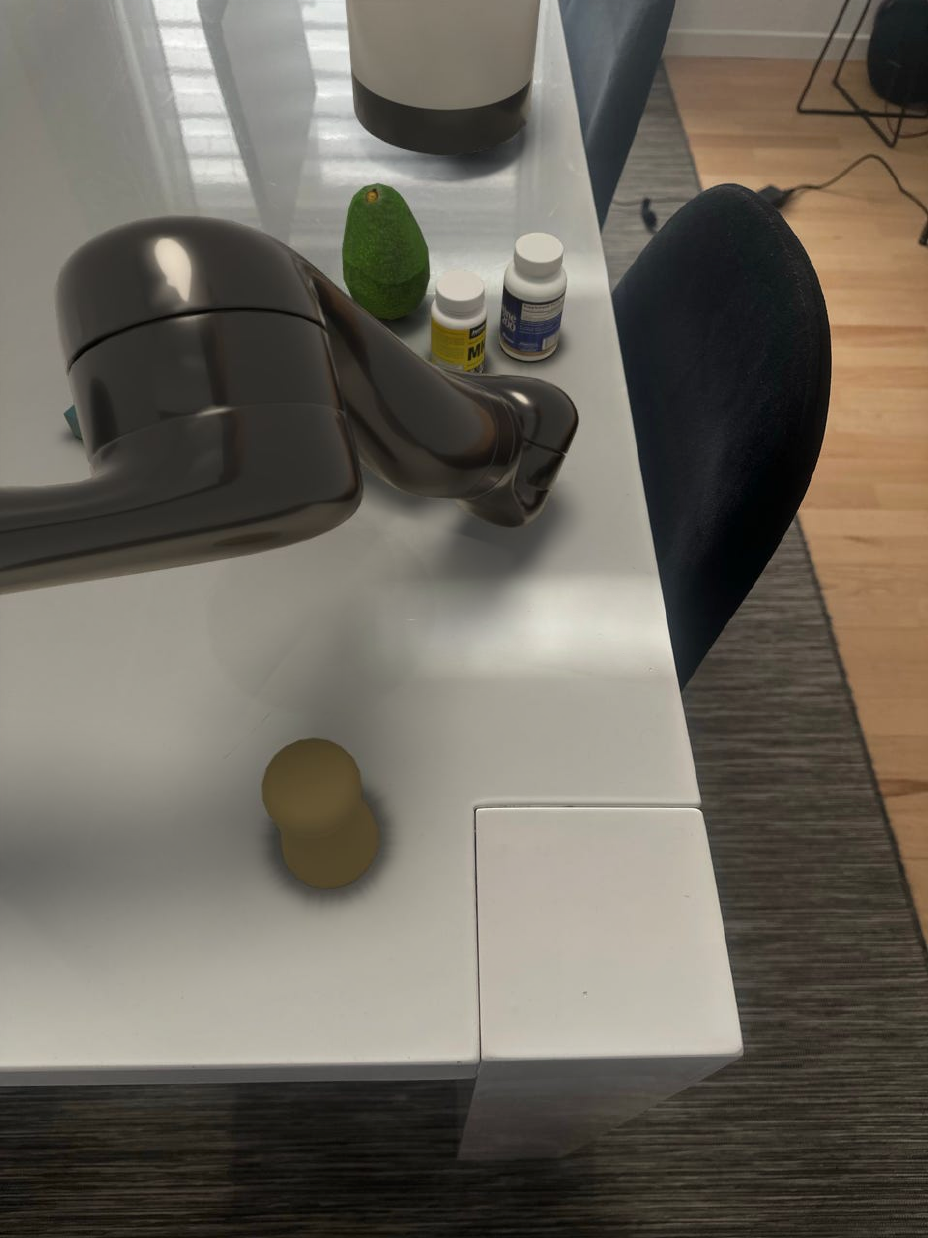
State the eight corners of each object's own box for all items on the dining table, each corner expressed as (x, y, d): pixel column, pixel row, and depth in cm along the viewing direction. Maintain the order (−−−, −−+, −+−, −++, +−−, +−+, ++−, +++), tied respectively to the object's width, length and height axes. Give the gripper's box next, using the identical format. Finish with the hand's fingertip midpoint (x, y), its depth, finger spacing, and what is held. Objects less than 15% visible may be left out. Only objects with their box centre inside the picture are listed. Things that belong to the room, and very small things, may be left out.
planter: (537, 100, 98) (556, -87, 83) (514, 193, 88) (530, 0, 73) (377, 80, 99) (367, -107, 84) (336, 170, 89) (317, -25, 74)
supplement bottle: (473, 391, 73) (477, 310, 65) (422, 376, 73) (421, 295, 66) (491, 356, 75) (497, 274, 68) (442, 342, 76) (443, 260, 69)
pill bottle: (494, 324, 77) (502, 227, 69) (551, 322, 78) (565, 225, 69) (502, 364, 74) (511, 268, 66) (561, 361, 75) (577, 266, 67)
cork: (325, 774, 54) (302, 700, 44) (398, 828, 52) (391, 763, 43) (260, 850, 51) (222, 787, 42) (336, 909, 49) (314, 858, 40)
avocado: (340, 291, 79) (326, 166, 69) (420, 280, 80) (418, 156, 70) (355, 347, 75) (343, 223, 65) (440, 334, 76) (440, 211, 66)
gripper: (366, 276, 63) (186, 203, 67) (258, 382, 56) (67, 294, 61) (373, 355, 69) (209, 284, 73) (276, 458, 63) (103, 373, 67)
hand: (145, 289), depth 67 cm, fingers closed
